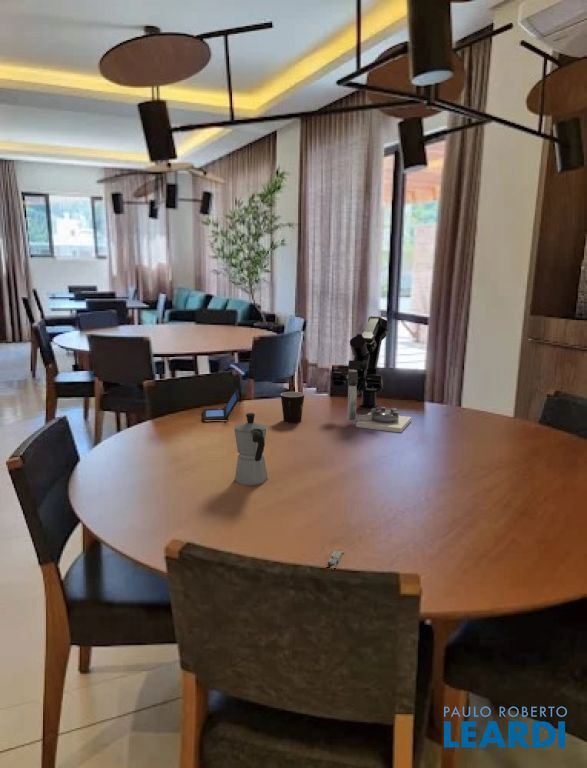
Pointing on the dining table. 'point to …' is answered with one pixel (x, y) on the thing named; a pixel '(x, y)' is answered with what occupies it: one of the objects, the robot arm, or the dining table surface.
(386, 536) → the dining table surface
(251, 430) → the coffee maker
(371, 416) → the grey l-shaped piece
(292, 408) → the dark brown coffee cup
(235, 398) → the handheld game console
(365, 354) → the robot arm
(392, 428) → the base plate
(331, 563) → the granola bar
